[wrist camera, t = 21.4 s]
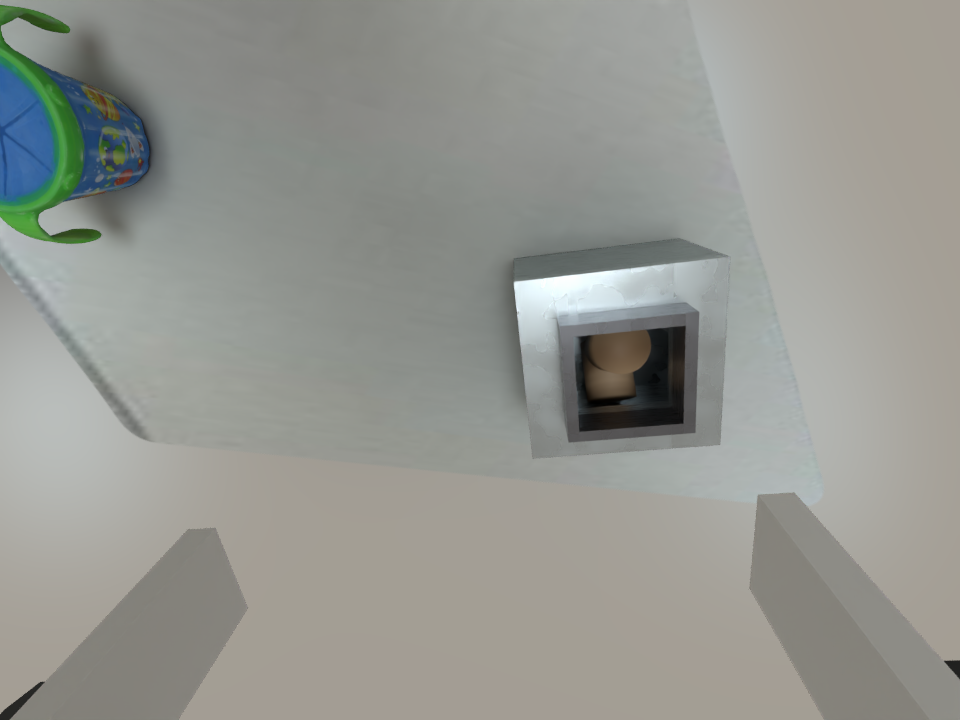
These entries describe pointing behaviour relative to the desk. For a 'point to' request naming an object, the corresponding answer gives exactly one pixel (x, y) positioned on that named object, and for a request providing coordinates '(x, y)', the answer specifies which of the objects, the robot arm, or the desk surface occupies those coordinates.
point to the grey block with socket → (621, 308)
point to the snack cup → (59, 138)
